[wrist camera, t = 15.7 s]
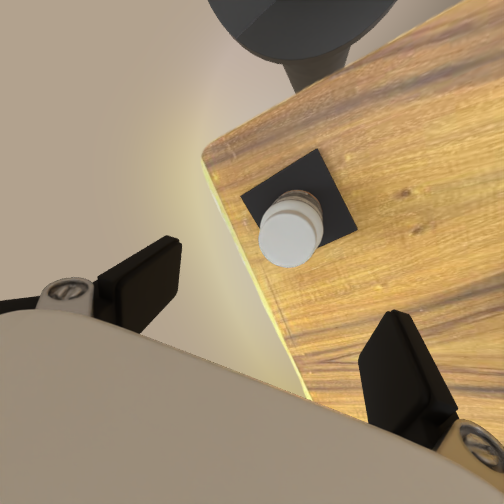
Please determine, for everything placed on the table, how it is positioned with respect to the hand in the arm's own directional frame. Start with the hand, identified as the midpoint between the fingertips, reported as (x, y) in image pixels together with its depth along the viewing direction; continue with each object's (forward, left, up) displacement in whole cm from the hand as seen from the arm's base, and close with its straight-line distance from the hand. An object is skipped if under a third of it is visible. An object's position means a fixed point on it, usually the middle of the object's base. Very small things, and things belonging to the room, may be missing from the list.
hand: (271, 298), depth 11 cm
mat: (0, -1, -20) cm, 20 cm away
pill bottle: (0, -1, -19) cm, 19 cm away
